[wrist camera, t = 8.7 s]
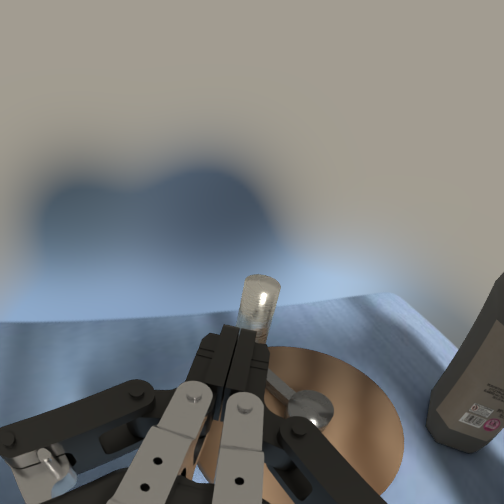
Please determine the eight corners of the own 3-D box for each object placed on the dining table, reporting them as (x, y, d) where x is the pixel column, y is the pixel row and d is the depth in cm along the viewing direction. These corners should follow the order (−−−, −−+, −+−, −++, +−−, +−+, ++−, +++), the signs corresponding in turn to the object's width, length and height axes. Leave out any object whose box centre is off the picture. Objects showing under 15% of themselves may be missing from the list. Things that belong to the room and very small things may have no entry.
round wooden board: (380, 370, 34) (386, 360, 34) (408, 522, 16) (419, 515, 15) (215, 339, 35) (217, 328, 34) (159, 500, 17) (158, 493, 16)
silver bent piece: (336, 420, 25) (378, 346, 21) (307, 443, 22) (349, 370, 18) (250, 345, 33) (268, 270, 29) (219, 358, 30) (232, 280, 26)
